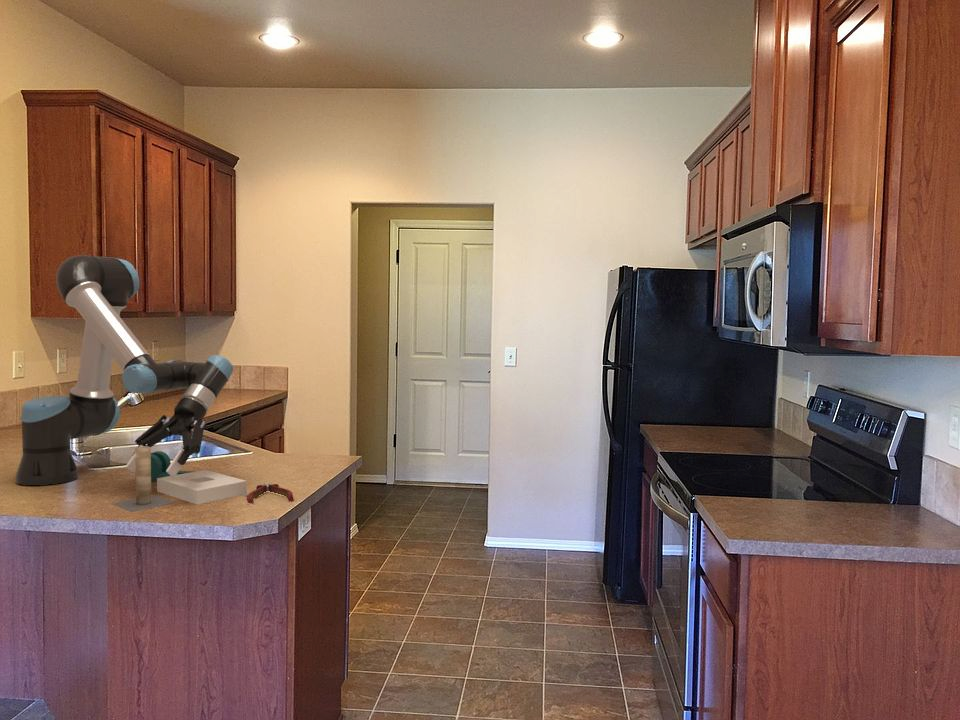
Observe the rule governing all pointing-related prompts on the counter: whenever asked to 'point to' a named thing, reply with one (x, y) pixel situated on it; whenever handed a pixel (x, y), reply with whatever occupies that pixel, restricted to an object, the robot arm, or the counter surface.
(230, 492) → the hole block
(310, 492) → the counter surface
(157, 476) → the bracket
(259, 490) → the pliers
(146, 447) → the peg
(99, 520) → the counter surface
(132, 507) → the mat
